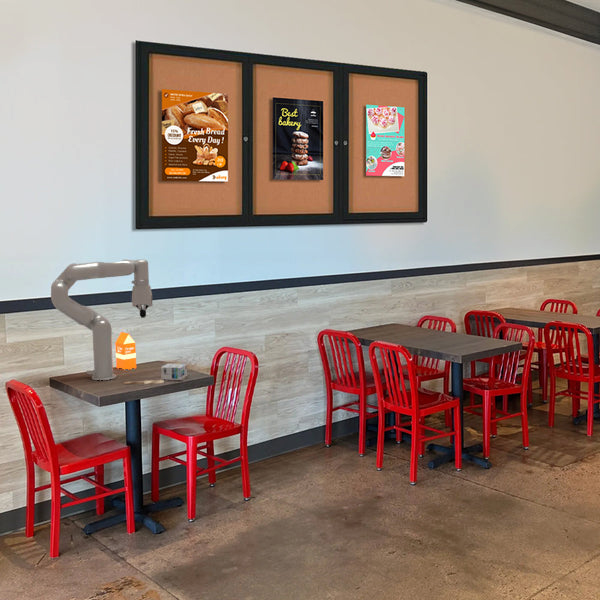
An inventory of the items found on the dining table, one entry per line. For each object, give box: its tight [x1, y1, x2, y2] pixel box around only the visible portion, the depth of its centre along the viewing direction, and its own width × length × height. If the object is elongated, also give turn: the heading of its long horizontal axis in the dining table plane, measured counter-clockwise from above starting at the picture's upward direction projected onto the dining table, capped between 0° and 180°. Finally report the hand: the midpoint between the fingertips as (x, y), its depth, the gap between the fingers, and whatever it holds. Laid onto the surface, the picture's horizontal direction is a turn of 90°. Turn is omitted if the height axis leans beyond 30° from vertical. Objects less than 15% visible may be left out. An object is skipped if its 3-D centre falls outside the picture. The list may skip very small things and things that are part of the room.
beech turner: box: [123, 379, 165, 386], centre depth 386 cm, size 20×6×1 cm, turn 102°
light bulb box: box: [160, 363, 188, 380], centre depth 395 cm, size 11×7×11 cm
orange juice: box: [115, 331, 137, 371], centre depth 422 cm, size 8×9×20 cm
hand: (143, 317), depth 402 cm, fingers closed
